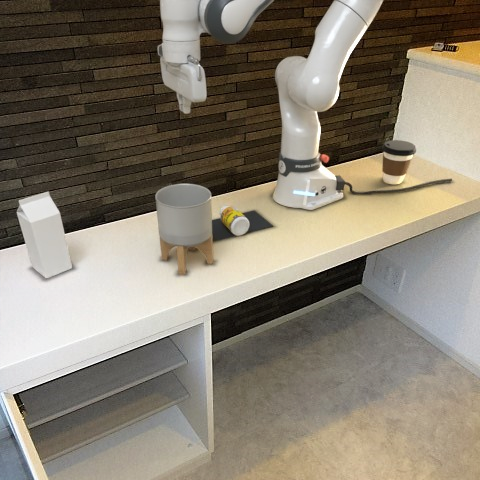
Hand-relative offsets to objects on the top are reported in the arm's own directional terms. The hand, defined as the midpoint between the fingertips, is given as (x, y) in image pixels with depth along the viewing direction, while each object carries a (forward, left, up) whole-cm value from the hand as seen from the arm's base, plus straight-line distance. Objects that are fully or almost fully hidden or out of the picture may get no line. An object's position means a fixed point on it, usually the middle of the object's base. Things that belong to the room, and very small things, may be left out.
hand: (185, 112), depth 129 cm
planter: (+11, +23, -29) cm, 39 cm away
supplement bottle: (-7, +18, -26) cm, 33 cm away
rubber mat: (-8, +11, -29) cm, 32 cm away
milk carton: (+42, +11, -29) cm, 52 cm away
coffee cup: (-71, +7, -29) cm, 77 cm away
